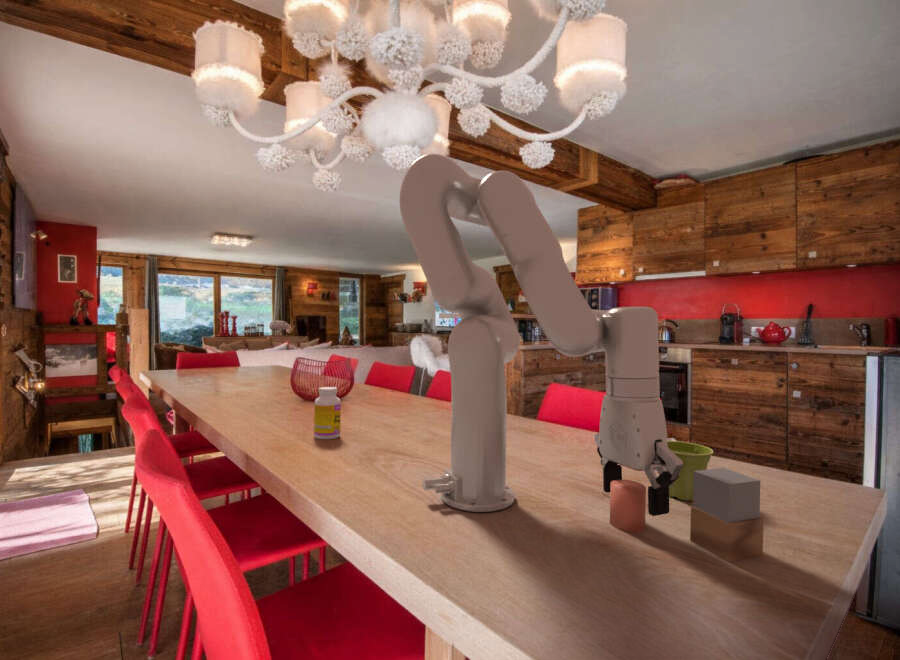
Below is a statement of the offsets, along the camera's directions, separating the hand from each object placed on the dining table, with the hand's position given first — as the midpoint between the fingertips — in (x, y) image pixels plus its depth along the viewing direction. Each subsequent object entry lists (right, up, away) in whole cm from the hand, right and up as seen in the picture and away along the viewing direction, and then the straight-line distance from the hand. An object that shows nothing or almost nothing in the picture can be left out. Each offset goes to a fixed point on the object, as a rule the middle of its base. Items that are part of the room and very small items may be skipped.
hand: (634, 501), depth 68 cm
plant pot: (+14, -4, +13) cm, 19 cm away
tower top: (+10, +1, -6) cm, 12 cm away
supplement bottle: (-60, -2, +50) cm, 78 cm away
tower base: (+10, -4, -6) cm, 12 cm away
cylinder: (-1, -4, 0) cm, 4 cm away
